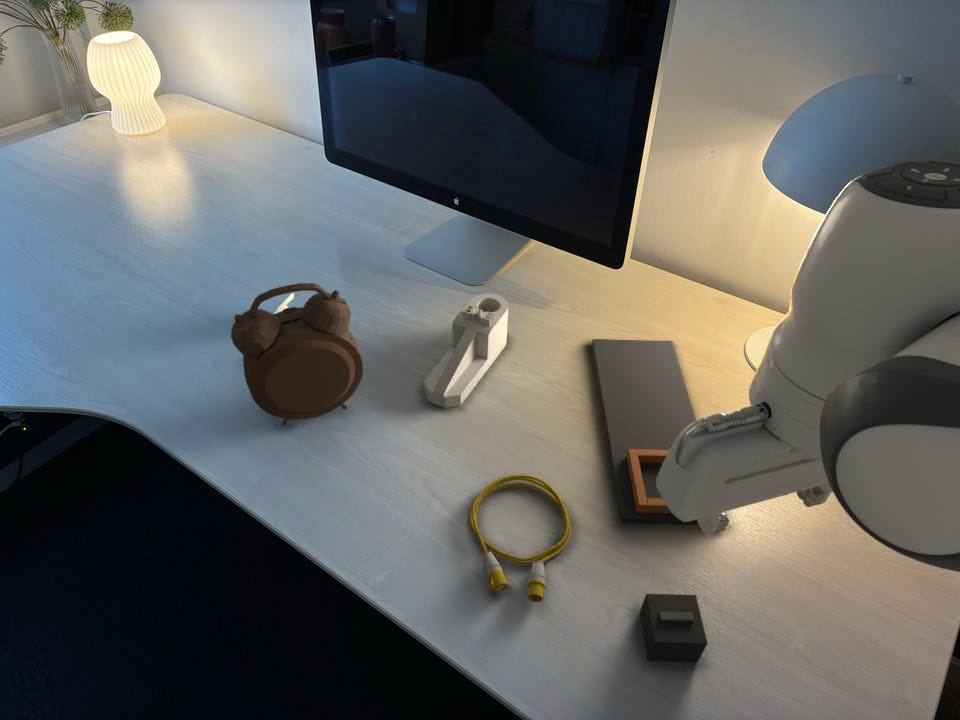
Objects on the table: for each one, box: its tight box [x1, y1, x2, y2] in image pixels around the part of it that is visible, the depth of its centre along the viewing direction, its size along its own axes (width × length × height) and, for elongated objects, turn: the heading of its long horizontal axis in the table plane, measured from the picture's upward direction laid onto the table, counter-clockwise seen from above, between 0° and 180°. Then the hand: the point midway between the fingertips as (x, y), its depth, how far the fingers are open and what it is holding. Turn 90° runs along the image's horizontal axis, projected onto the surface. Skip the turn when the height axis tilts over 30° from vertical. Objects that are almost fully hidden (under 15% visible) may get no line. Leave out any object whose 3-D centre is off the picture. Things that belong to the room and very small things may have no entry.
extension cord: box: [468, 474, 572, 603], centre depth 77 cm, size 12×16×2 cm
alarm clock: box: [230, 282, 364, 427], centre depth 85 cm, size 14×7×20 cm, turn 113°
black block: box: [638, 593, 708, 663], centre depth 67 cm, size 5×5×4 cm
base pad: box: [591, 338, 725, 526], centre depth 90 cm, size 32×12×2 cm, turn 179°
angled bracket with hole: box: [423, 292, 509, 409], centre depth 96 cm, size 6×18×8 cm, turn 153°
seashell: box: [272, 292, 295, 315], centre depth 102 cm, size 8×5×8 cm
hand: (760, 512), depth 55 cm, fingers open, 8 cm apart
